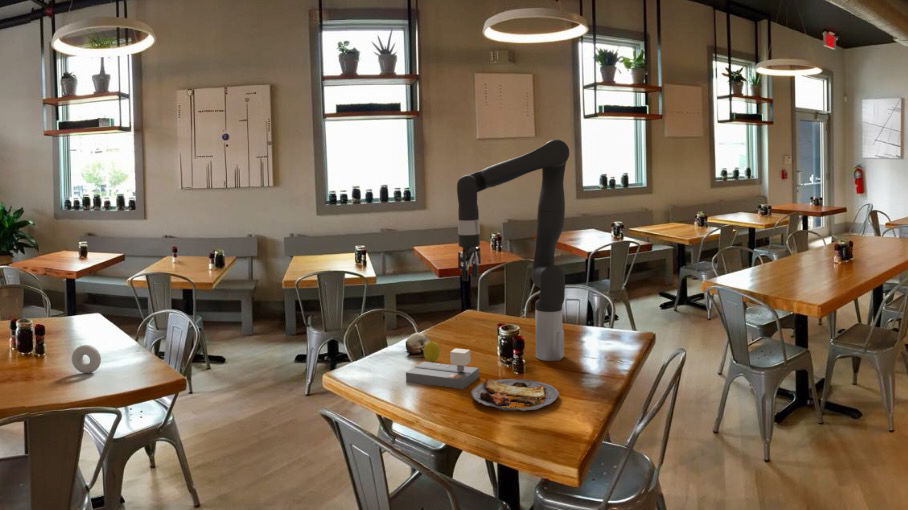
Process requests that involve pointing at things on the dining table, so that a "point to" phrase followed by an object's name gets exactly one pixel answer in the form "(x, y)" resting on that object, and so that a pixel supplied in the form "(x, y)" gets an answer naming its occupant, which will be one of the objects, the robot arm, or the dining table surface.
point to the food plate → (514, 393)
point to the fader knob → (460, 358)
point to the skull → (416, 345)
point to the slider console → (442, 375)
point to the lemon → (431, 351)
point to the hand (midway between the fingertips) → (470, 278)
